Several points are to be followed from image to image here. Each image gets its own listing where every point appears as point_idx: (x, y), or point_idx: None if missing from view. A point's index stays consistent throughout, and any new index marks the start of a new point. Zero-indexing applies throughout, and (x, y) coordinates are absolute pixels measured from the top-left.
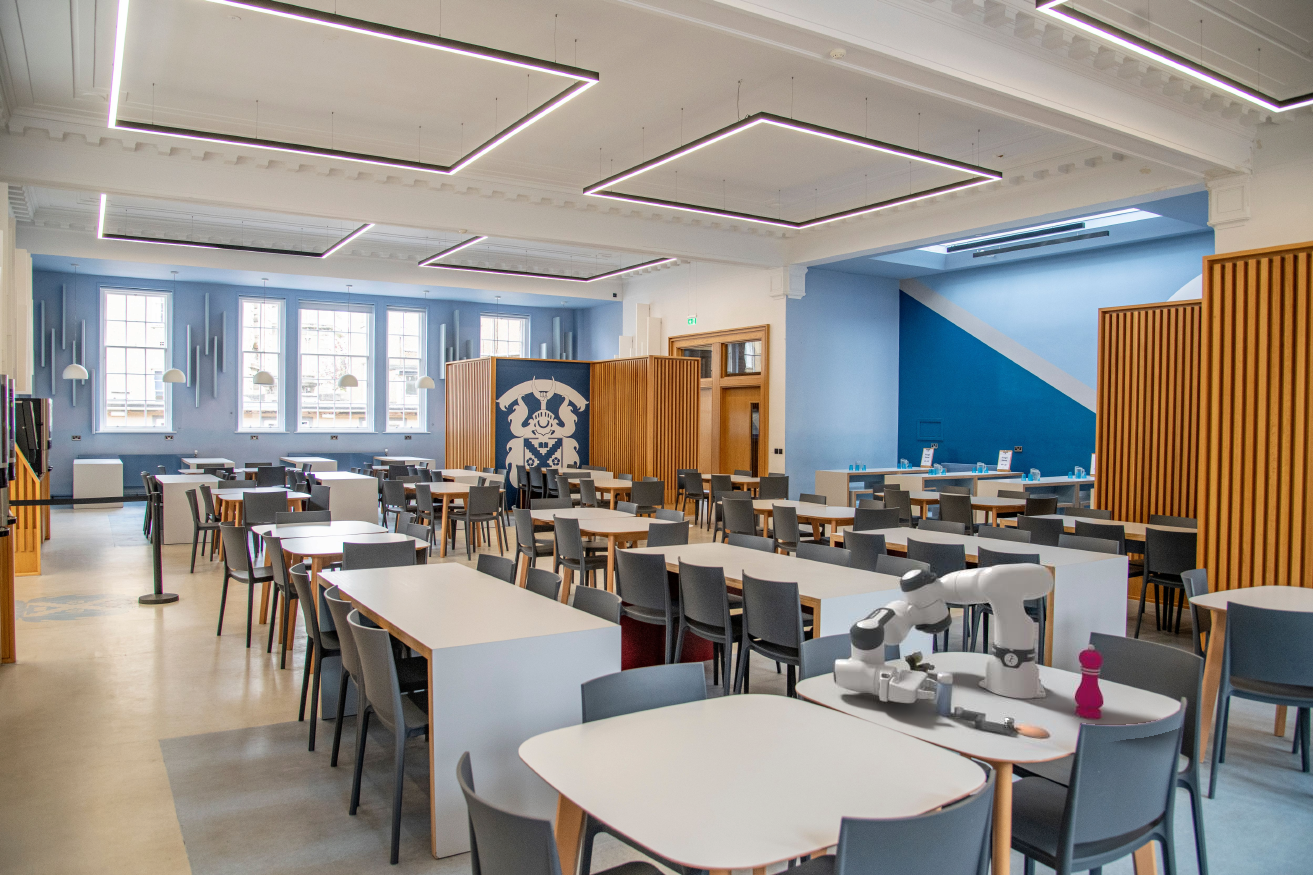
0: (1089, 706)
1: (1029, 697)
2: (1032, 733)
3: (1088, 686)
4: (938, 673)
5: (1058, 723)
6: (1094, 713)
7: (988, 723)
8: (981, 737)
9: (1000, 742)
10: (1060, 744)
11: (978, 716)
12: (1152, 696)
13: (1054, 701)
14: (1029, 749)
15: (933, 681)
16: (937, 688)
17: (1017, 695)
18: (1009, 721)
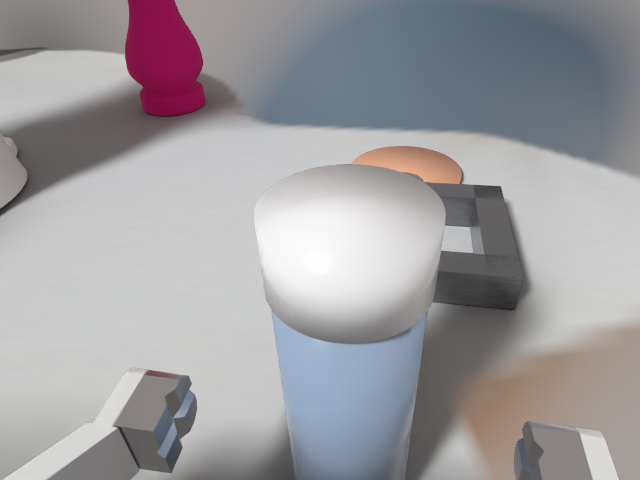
0: (200, 71)
1: (23, 168)
2: (435, 169)
3: (175, 14)
4: (336, 260)
5: (274, 137)
6: (202, 86)
7: (513, 237)
8: (633, 288)
9: (621, 236)
10: (470, 138)
11: None
12: (26, 59)
13: (56, 138)
14: (600, 181)
15: (95, 447)
16: (362, 401)
17: (13, 183)
18: None
